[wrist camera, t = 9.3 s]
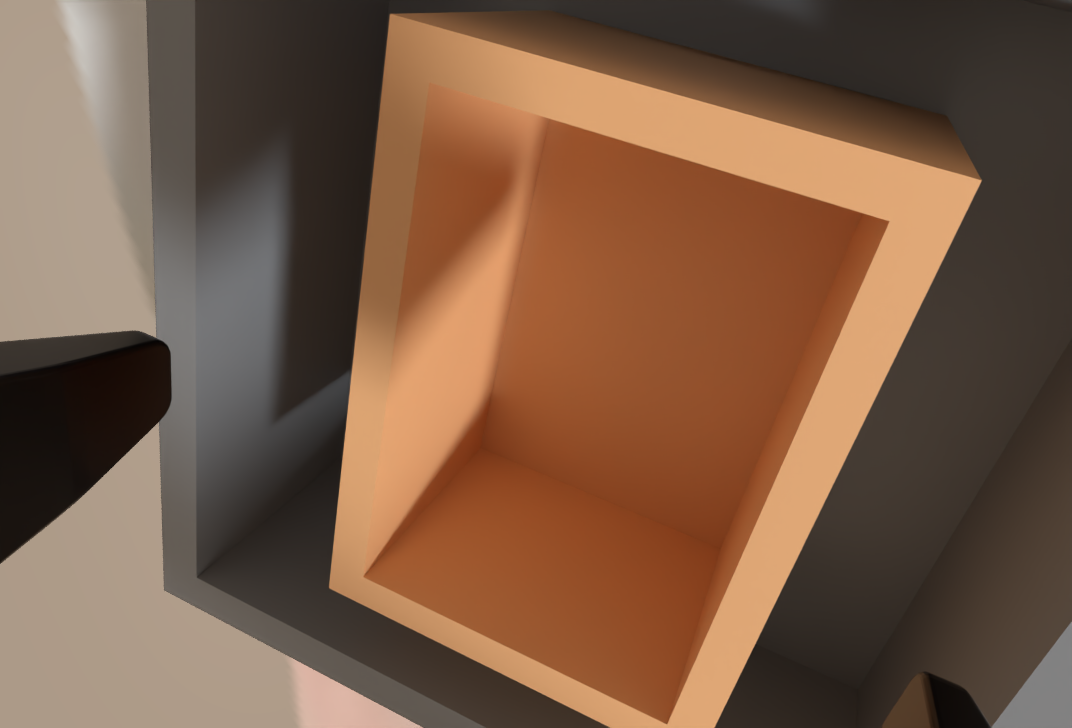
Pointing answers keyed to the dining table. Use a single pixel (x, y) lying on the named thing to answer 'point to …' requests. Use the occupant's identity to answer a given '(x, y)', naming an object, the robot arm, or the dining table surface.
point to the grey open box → (868, 471)
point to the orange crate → (618, 345)
